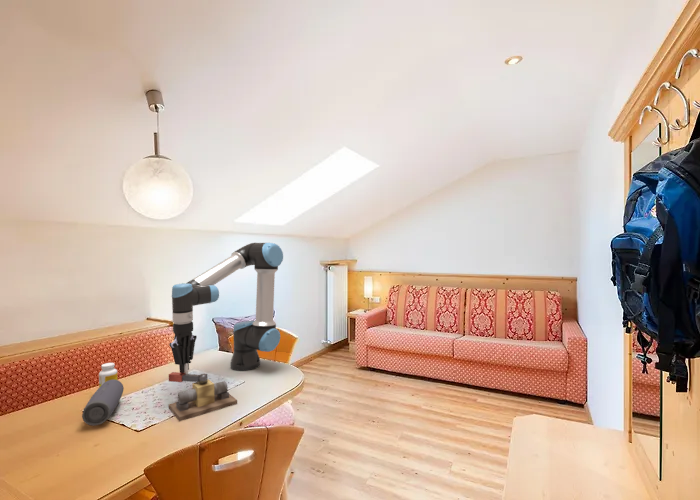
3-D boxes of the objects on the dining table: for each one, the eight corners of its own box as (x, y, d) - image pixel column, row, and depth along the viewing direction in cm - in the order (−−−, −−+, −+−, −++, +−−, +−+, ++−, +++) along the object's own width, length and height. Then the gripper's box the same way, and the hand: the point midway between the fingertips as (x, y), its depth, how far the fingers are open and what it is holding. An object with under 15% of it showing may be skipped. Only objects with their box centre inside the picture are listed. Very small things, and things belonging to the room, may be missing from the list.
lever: (209, 381, 148) (208, 373, 148) (204, 384, 145) (204, 376, 145) (173, 379, 150) (173, 371, 150) (168, 382, 147) (168, 374, 147)
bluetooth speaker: (98, 404, 149) (98, 379, 149) (125, 400, 152) (124, 376, 152) (80, 431, 128) (79, 403, 127) (111, 426, 131) (110, 399, 131)
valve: (223, 392, 160) (223, 372, 159) (237, 403, 149) (237, 381, 149) (168, 407, 145) (168, 385, 145) (179, 421, 135) (179, 396, 134)
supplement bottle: (121, 391, 161) (120, 362, 161) (110, 397, 155) (109, 367, 154) (107, 390, 162) (106, 361, 162) (95, 396, 155) (94, 366, 155)
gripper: (178, 326, 142) (180, 386, 143) (201, 319, 154) (203, 374, 155) (163, 325, 144) (164, 384, 145) (187, 318, 157) (188, 373, 158)
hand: (184, 379), depth 150 cm, fingers closed
